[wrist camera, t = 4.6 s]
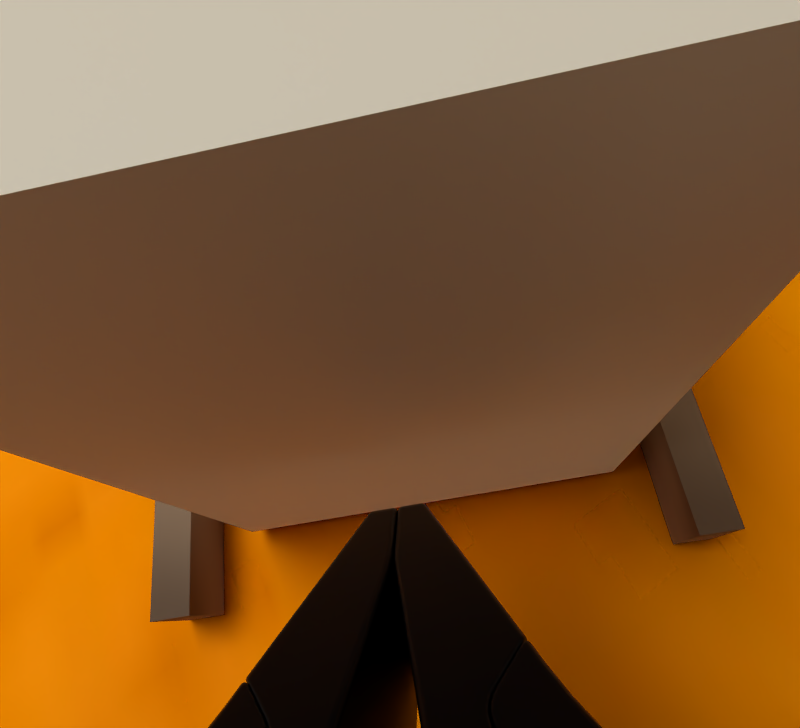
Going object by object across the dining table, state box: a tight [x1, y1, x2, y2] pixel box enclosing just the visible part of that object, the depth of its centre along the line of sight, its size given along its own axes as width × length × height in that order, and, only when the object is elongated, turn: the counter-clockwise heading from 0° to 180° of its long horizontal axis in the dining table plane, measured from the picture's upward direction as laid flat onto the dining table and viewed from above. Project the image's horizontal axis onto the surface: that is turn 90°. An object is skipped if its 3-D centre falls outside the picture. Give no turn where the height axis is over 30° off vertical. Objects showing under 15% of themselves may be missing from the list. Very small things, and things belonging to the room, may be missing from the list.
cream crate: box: [0, 0, 800, 532], centre depth 11 cm, size 10×10×13 cm
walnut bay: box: [150, 389, 745, 622], centre depth 19 cm, size 24×14×3 cm, turn 8°
